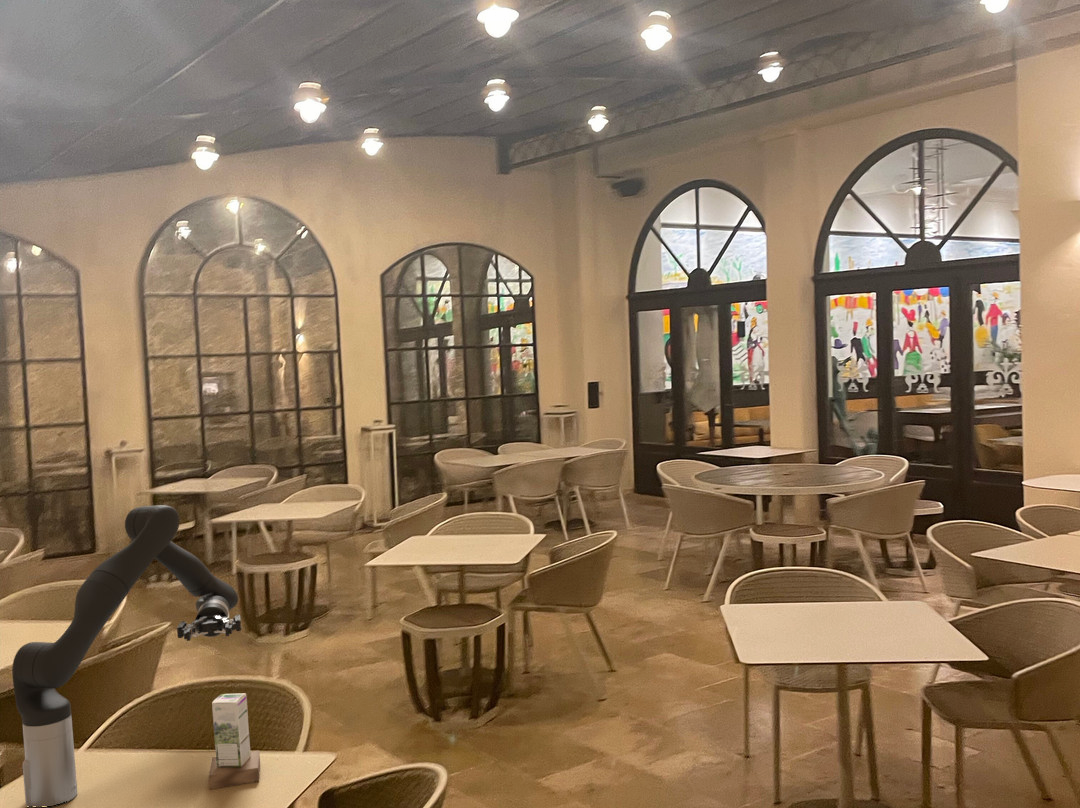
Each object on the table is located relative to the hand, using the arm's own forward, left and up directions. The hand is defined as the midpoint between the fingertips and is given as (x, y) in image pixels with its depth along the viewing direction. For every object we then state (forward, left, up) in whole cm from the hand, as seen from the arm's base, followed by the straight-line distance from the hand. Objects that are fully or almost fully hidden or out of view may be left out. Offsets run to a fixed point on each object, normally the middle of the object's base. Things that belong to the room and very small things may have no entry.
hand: (207, 634), depth 223 cm
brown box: (+5, -15, -28) cm, 32 cm away
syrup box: (+5, -15, -25) cm, 30 cm away
